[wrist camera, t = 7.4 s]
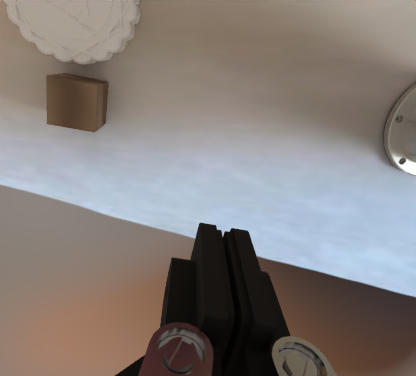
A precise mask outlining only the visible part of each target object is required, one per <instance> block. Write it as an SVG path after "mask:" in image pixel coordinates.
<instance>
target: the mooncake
mask: <svg viewBox="0 0 416 376" xmlns="http://www.w3.org/2000/svg"><path fill="white" fill-rule="evenodd" d="M3 1H4V3H6V4H7V14H8V17H9V18H10V20H11V21H12V22H13V23H14V24H16V25H18V26H19V29H20V33H21V35H22V36H23V37H24V38H25V39H26V40H27V41H29V42H31V43H35V44H36V47H37V48H38V50H39V51H40V52H42V53H43V54H45V55H54V56H55V57H56V58H57V59H58V60H59V61H61V62H64V63H74V62H76V63H77V64H80V65H89V64H94V63H96V62H97V61H108V60H110V59H111V58H112V56H113V53H121V52H122V51H123V50H124V49H125V47H126V41H129V40H131V39H132V38H133V37H134V35H135V26H134V25H135V24H137V23H138V22H139V20H140V16H141V14H140V9H139V7H138V4H139V3H140V0H3Z"/></svg>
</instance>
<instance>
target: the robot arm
mask: <svg viewBox="0 0 416 376" xmlns="http://www.w3.org/2000/svg"><path fill="white" fill-rule="evenodd" d="M384 147H385V150H386V154H387V156H388V158H389V159H390V161H391V162H392V163H393V164H394V165H395V166H396V167H397V168H399V169H400V170H402V171H404V172H406V173H408V174H411V175H415V176H416V83H415V84H414V85H413V86H412V87H410V88H409V89H408V90H407V91H406V92H405V93H404V94H403V95H402V96H401V97H400V98H399V100H398V101H397V103H396V104H395V106H394V107H393V109H392V111H391V113H390V115H389V117H388V119H387V123H386V126H385V131H384ZM115 376H337V375H336V374H335V372H334V371H333V369H332V367H331V365H330V364H329V362H328V360H327V359H326V358H325V356H324V355H323V354H322V353H321V352H320V351H319V350H318V349H317V348H316V347H315V346H313V345H312V344H310V343H309V342H307V341H305V340H303V339H300V338H298V337H291V336H290V333H289V331H288V328H287V325H286V322H285V319H284V316H283V313H282V311H281V308H280V305H279V303H278V299H277V296H276V293H275V291H274V288H273V285H272V282H271V279H270V276H269V274H268V273H267V272H263V271H261V269H260V266H259V263H258V260H257V257H256V254H255V250H254V247H253V244H252V241H251V238H250V235H249V232H248V231H246V230H240V229H234V228H232V229H231V230H230V232H227V231H225V233H224V236H223V237H222V231H221V230H217V228H216V225H211V224H205V223H200V224H199V227H198V230H197V235H196V239H195V243H194V248H193V251H192V255H191V260H185V259H179V258H172V259H171V263H170V268H169V272H168V277H167V282H166V288H165V294H164V301H163V309H162V317H161V324H160V328H159V329H158V330H157V331H156V332H155V333H154V334H153V336H152V338H151V340H150V342H149V345H148V348H147V351H146V354H145V355H144V356H143V357H141V358H140V359H138V360H137V361H135V362H134V363H133V364H131V365H130V366H128V367H127V368H126V369H124V370H123V371H121V372H120V373H118V374H117V375H115Z"/></svg>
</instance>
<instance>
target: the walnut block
mask: <svg viewBox="0 0 416 376" xmlns="http://www.w3.org/2000/svg"><path fill="white" fill-rule="evenodd" d="M107 95H108V82H105V81H100V80H95V79H90V78H85V77H80V76H75V75H70V74H65V73H63V74H55V75H47V124H50V125H56V126H62V127H68V128H73V129H79V130H85V131H91V132H96V131H97V130H98V129H99V128H101V127H102V126H103V125H104V124H105V123H106V110H107Z"/></svg>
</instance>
